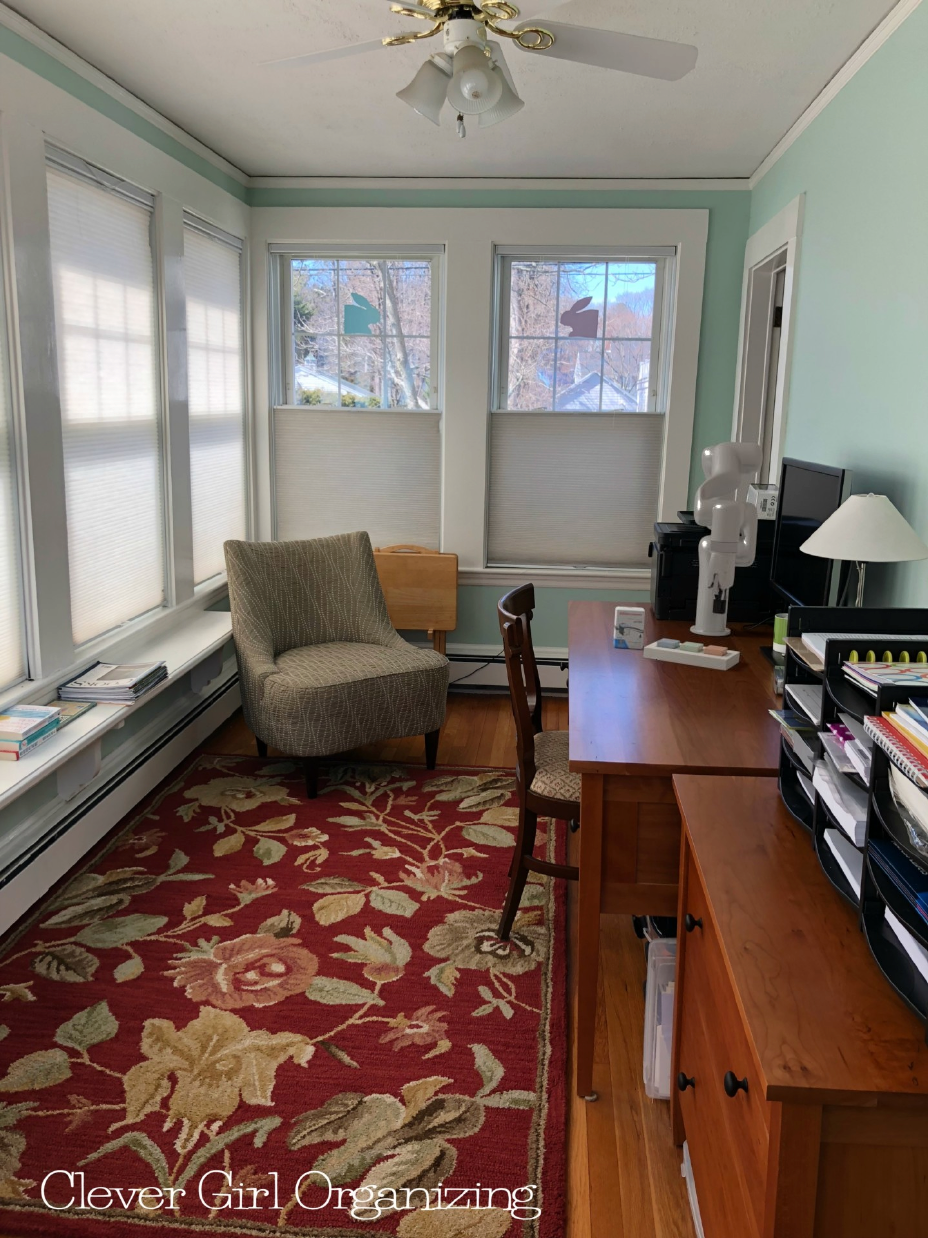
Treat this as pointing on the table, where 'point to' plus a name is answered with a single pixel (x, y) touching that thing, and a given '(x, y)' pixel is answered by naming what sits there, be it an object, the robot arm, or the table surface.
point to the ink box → (629, 627)
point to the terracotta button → (715, 650)
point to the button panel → (692, 657)
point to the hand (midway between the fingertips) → (718, 613)
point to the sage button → (691, 647)
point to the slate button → (668, 643)
